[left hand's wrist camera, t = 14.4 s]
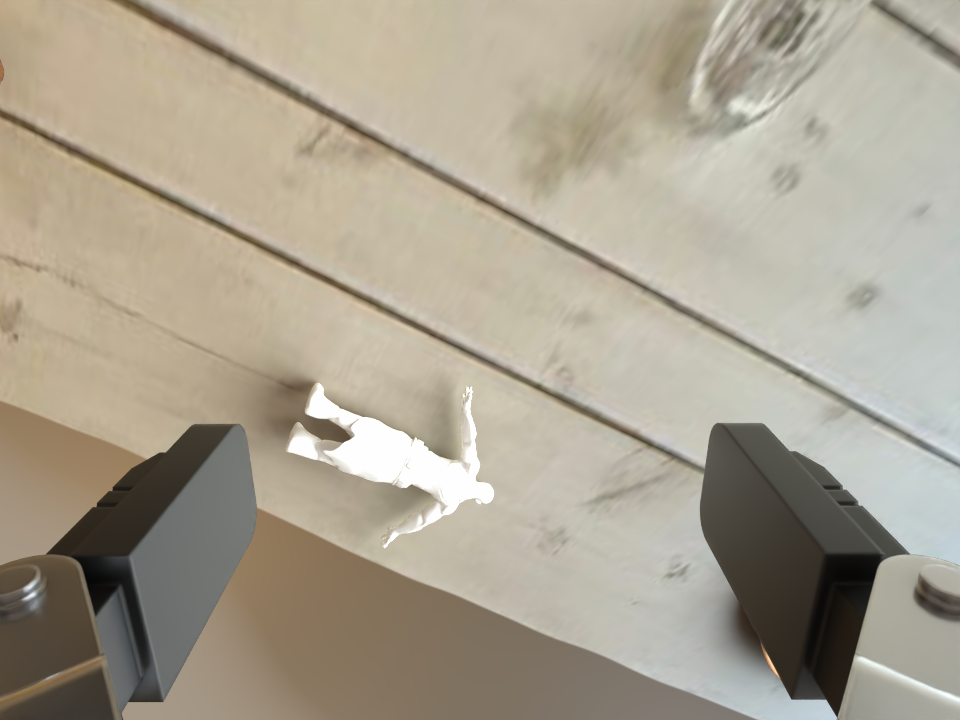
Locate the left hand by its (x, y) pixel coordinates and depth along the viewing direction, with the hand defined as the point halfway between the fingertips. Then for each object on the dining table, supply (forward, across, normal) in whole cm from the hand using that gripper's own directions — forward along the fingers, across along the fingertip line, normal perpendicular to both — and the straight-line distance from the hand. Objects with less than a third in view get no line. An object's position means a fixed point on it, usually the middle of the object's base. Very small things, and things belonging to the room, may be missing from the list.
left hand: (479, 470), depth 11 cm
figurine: (+40, -7, -21) cm, 46 cm away
